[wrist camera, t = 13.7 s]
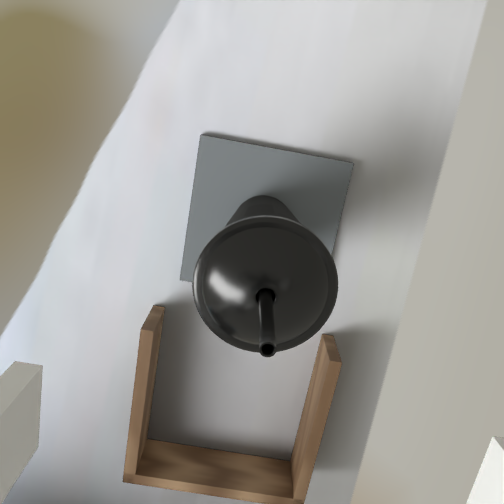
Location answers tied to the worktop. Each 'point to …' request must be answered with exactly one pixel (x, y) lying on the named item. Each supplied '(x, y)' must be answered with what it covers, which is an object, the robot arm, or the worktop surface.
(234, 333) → the drinking cup
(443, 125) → the worktop surface
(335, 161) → the mat
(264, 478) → the open wooden frame
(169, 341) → the worktop surface
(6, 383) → the robot arm
